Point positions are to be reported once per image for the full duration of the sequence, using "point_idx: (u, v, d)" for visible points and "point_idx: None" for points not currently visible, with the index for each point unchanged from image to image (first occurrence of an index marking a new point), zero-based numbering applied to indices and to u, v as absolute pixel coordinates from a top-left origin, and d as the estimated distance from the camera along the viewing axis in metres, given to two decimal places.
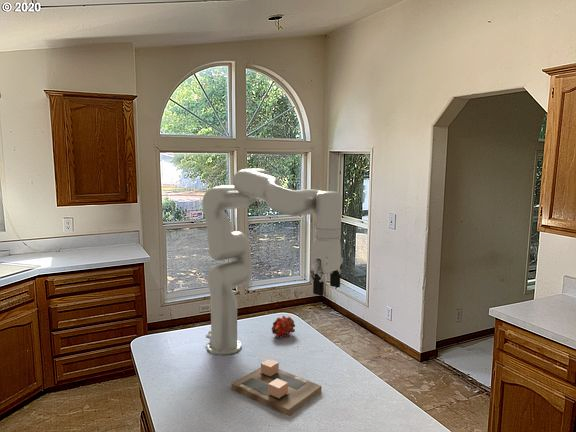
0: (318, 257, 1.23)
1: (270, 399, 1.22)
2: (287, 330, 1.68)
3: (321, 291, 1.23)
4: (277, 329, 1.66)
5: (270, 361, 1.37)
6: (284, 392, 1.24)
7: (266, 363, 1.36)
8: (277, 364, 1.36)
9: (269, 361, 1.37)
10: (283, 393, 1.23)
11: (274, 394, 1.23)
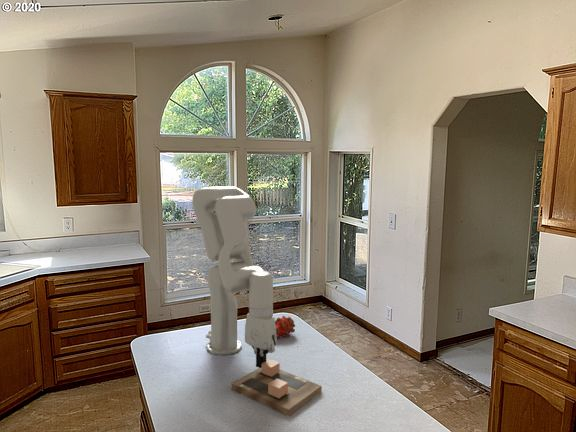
0: (272, 334, 1.34)
1: (270, 399, 1.22)
2: (287, 330, 1.68)
3: (265, 361, 1.39)
4: (277, 329, 1.66)
5: (271, 361, 1.37)
6: (284, 392, 1.24)
7: (267, 363, 1.36)
8: (278, 364, 1.36)
9: (270, 361, 1.37)
10: (283, 393, 1.23)
11: (274, 394, 1.23)
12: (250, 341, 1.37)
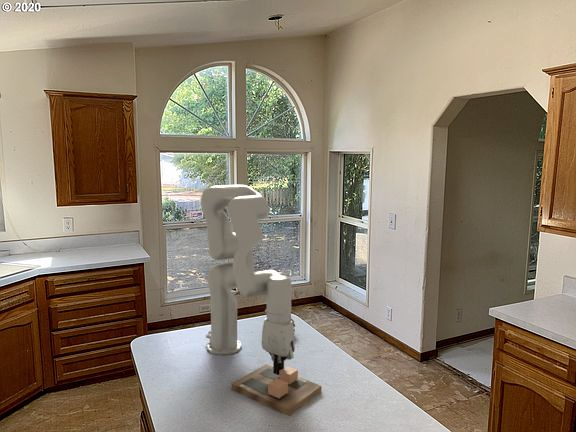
0: (291, 340, 1.30)
1: (270, 399, 1.22)
2: None
3: None
4: None
5: (289, 368, 1.33)
6: (284, 392, 1.24)
7: (285, 370, 1.31)
8: (296, 371, 1.32)
9: (288, 368, 1.33)
10: (283, 393, 1.23)
11: (274, 394, 1.23)
12: (268, 348, 1.32)
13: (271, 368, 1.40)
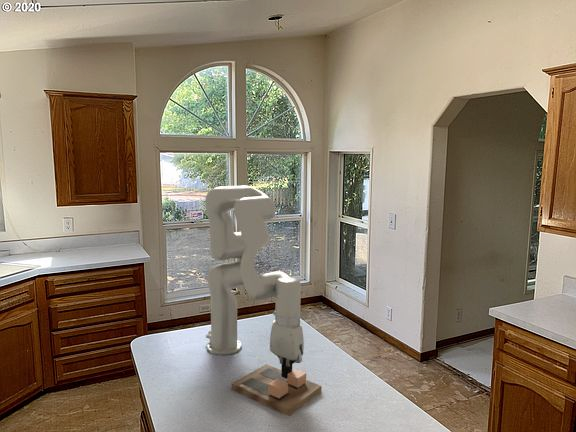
0: (300, 343, 1.28)
1: (270, 399, 1.22)
2: None
3: None
4: None
5: (297, 371, 1.31)
6: (284, 392, 1.24)
7: (293, 374, 1.29)
8: (305, 375, 1.30)
9: (296, 371, 1.31)
10: (283, 393, 1.23)
11: (274, 394, 1.23)
12: (276, 351, 1.30)
13: (271, 368, 1.40)
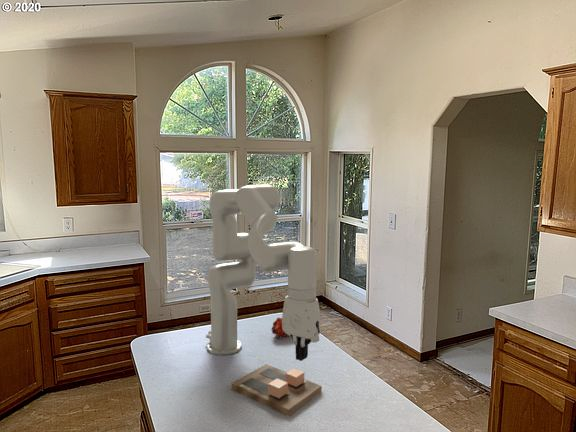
0: (316, 320, 1.13)
1: (270, 399, 1.22)
2: None
3: None
4: (277, 329, 1.66)
5: (295, 371, 1.31)
6: (284, 392, 1.24)
7: (292, 373, 1.30)
8: (303, 374, 1.30)
9: (294, 371, 1.31)
10: (283, 393, 1.23)
11: (274, 394, 1.23)
12: (289, 329, 1.16)
13: (271, 368, 1.40)
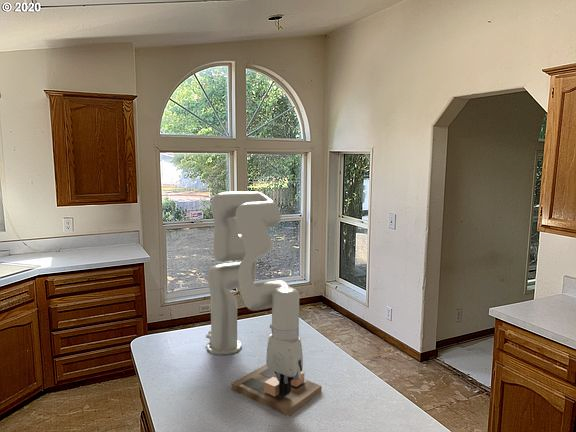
0: (299, 359, 1.18)
1: (270, 399, 1.22)
2: None
3: None
4: None
5: None
6: None
7: None
8: (303, 374, 1.30)
9: None
10: None
11: (270, 392, 1.24)
12: (273, 367, 1.21)
13: None
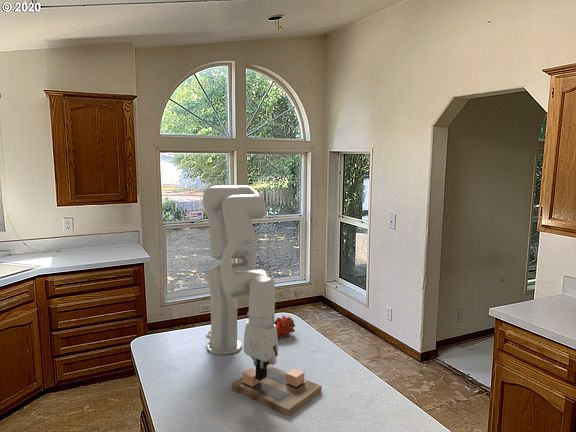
0: (274, 344, 1.23)
1: (270, 399, 1.22)
2: (287, 330, 1.68)
3: None
4: (277, 329, 1.66)
5: (295, 371, 1.31)
6: (258, 381, 1.30)
7: (292, 373, 1.30)
8: (303, 374, 1.30)
9: (294, 371, 1.31)
10: (257, 382, 1.29)
11: (248, 383, 1.29)
12: (250, 352, 1.26)
13: (271, 368, 1.40)
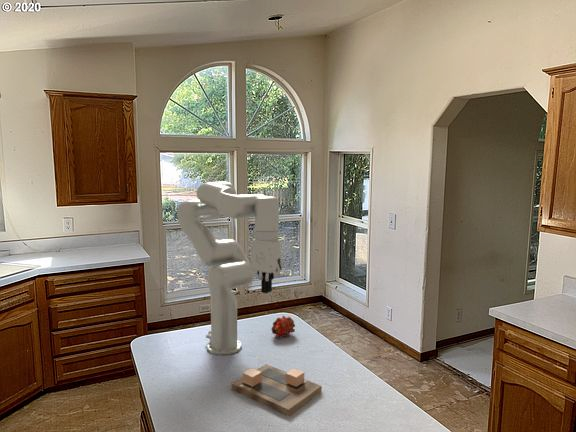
0: (278, 257, 1.34)
1: (270, 399, 1.22)
2: (287, 330, 1.68)
3: None
4: (277, 329, 1.66)
5: (295, 371, 1.31)
6: (258, 381, 1.30)
7: (292, 373, 1.30)
8: (303, 374, 1.30)
9: (294, 371, 1.31)
10: (257, 382, 1.29)
11: (248, 383, 1.29)
12: (256, 266, 1.36)
13: (271, 368, 1.40)
